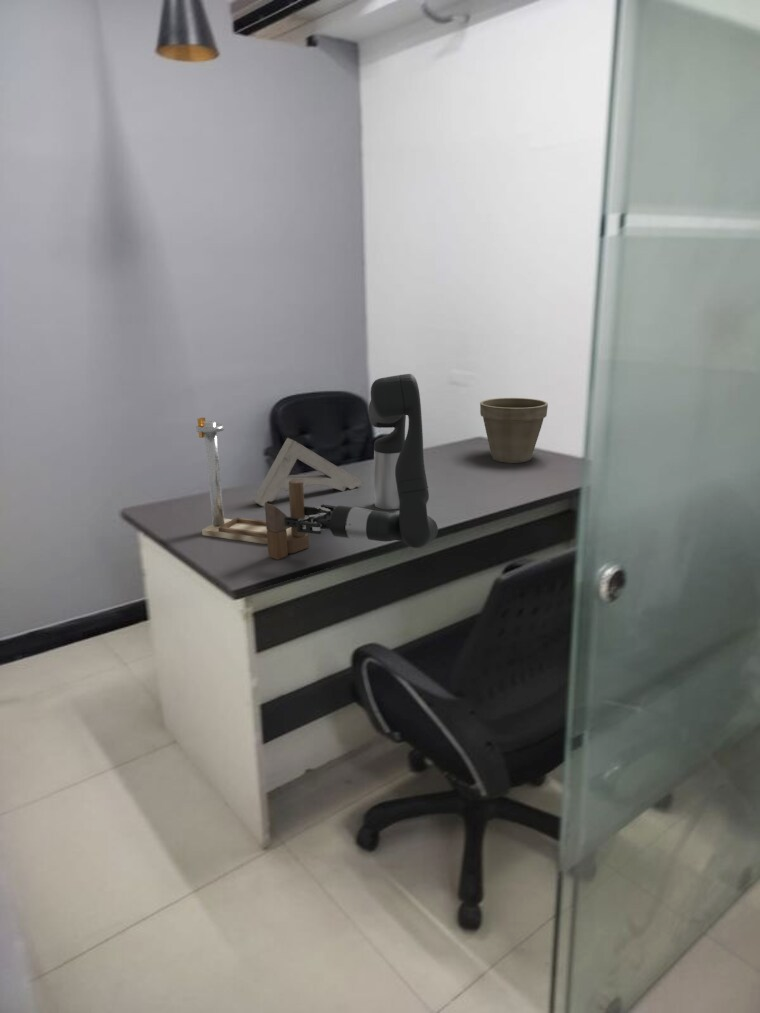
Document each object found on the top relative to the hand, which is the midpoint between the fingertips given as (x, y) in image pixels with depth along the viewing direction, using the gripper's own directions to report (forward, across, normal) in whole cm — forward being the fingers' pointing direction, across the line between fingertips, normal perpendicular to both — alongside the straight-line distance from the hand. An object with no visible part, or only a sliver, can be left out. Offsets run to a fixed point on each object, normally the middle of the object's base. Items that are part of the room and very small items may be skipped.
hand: (293, 515), depth 168 cm
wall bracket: (+18, -45, +10) cm, 50 cm away
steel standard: (+28, -8, +10) cm, 31 cm away
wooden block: (+2, 0, +10) cm, 10 cm away
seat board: (+18, -8, +10) cm, 22 cm away
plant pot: (-34, -113, +10) cm, 118 cm away
